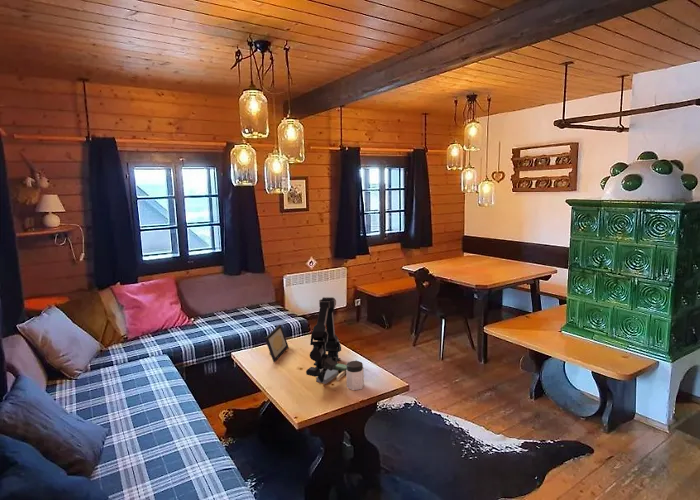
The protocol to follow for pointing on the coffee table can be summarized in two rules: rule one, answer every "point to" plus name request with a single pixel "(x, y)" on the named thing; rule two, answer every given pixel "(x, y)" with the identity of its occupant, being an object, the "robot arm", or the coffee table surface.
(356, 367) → the jar
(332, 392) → the coffee table surface
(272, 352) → the picture frame
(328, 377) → the slate tile
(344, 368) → the dock
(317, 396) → the coffee table surface
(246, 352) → the coffee table surface
